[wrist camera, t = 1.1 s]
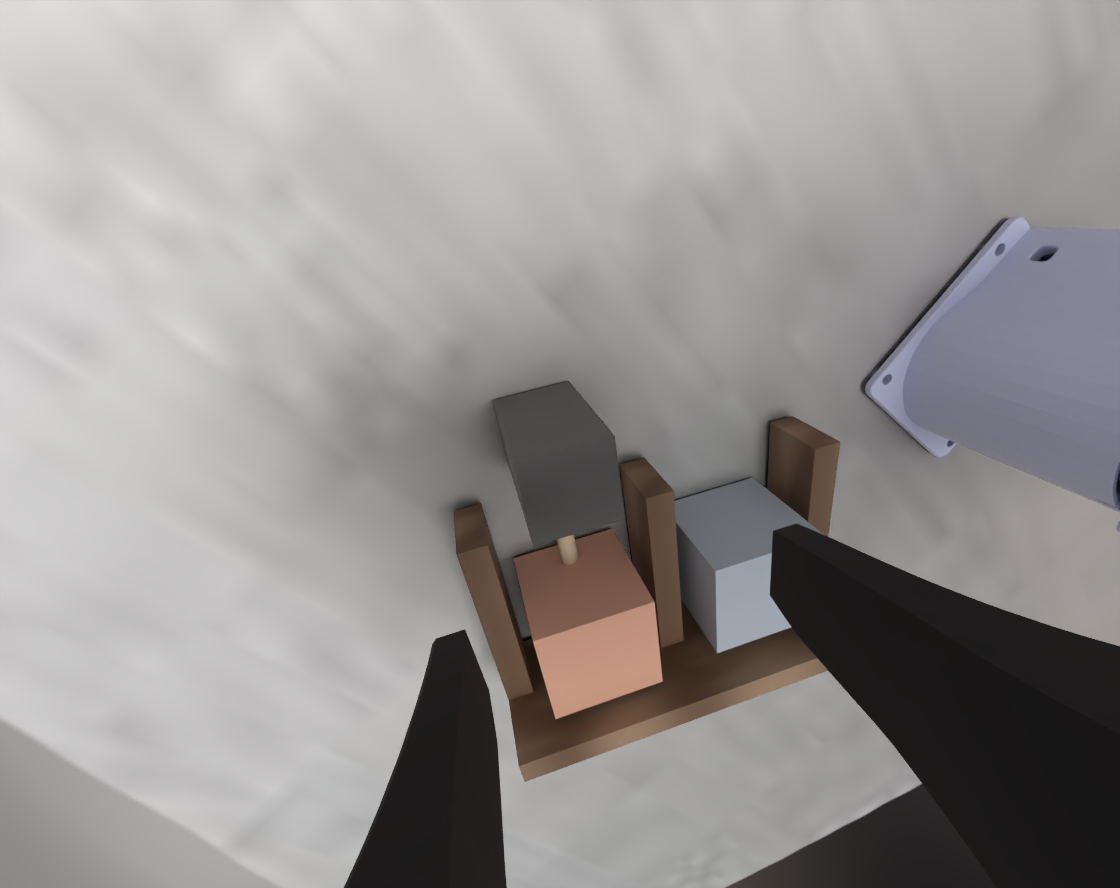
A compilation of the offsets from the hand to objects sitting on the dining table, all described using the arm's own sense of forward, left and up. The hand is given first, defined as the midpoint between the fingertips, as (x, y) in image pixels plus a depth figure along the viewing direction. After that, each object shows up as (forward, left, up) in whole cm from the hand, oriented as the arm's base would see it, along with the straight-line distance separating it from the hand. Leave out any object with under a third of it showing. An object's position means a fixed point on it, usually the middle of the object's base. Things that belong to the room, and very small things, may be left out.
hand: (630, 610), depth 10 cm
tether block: (+3, +3, -10) cm, 12 cm away
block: (0, +11, -10) cm, 15 cm away
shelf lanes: (+2, +8, -10) cm, 13 cm away
